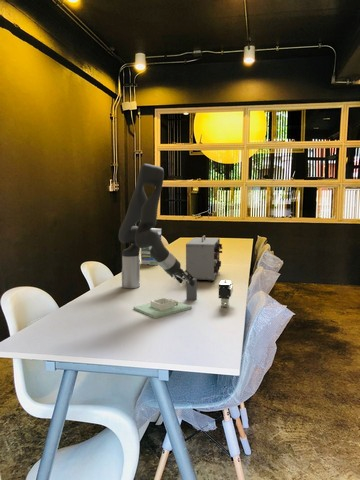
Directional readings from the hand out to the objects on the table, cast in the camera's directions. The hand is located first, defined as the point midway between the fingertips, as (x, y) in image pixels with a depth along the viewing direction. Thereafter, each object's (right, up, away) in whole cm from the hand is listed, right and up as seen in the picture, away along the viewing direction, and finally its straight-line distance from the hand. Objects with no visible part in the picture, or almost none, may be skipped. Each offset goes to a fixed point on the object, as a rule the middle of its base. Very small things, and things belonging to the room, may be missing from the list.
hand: (187, 283), depth 175 cm
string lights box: (-24, +3, +92) cm, 95 cm away
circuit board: (-11, -10, -12) cm, 19 cm away
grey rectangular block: (+2, -8, +3) cm, 9 cm away
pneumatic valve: (+17, -9, -8) cm, 21 cm away
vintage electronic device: (+12, -2, +52) cm, 53 cm away
